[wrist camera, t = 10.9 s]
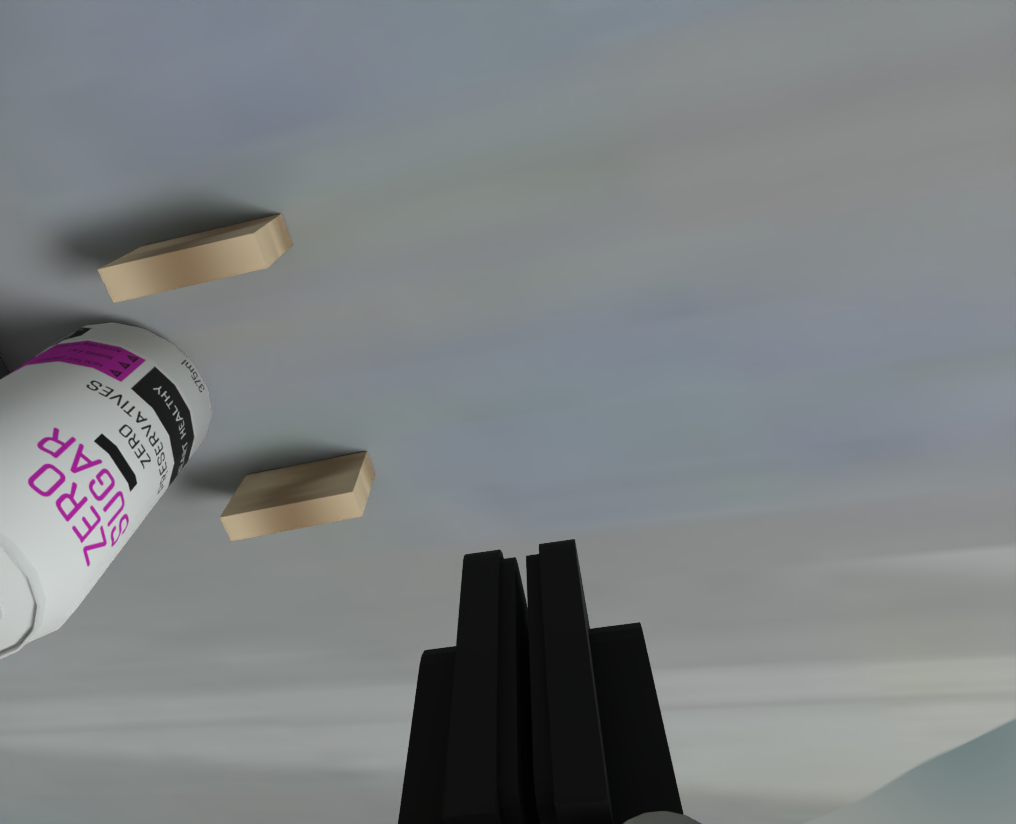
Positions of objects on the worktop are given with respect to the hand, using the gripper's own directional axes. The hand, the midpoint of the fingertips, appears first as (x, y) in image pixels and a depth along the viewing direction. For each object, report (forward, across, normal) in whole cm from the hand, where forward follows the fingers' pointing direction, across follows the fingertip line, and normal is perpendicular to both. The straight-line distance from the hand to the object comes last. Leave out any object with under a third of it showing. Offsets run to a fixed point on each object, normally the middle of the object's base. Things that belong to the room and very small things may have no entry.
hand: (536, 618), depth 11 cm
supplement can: (+25, +21, +5) cm, 33 cm away
